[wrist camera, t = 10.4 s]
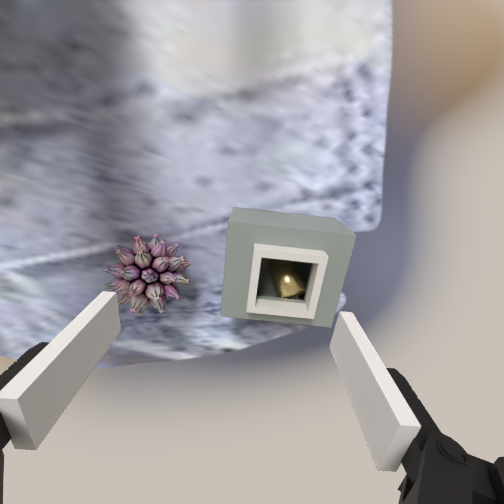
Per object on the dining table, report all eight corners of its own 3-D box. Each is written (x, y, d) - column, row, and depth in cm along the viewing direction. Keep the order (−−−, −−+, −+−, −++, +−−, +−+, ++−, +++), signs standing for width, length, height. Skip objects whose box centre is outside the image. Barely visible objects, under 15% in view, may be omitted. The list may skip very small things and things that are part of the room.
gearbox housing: (227, 286, 44) (218, 325, 34) (233, 206, 39) (226, 225, 29) (317, 295, 44) (335, 336, 34) (335, 218, 39) (362, 240, 29)
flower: (209, 243, 41) (192, 276, 30) (182, 299, 45) (158, 346, 34) (142, 211, 39) (98, 233, 28) (120, 272, 43) (73, 312, 32)
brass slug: (264, 269, 41) (277, 305, 37) (270, 254, 38) (284, 291, 34) (286, 266, 42) (301, 301, 38) (294, 251, 39) (310, 287, 35)
